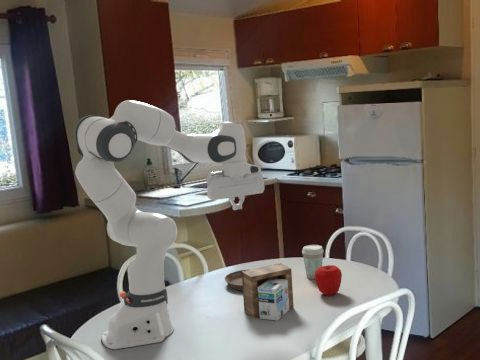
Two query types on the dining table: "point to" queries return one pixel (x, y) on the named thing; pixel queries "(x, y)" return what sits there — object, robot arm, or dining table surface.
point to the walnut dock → (257, 278)
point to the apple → (328, 279)
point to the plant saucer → (235, 280)
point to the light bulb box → (273, 299)
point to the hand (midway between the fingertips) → (237, 209)
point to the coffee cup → (312, 259)
